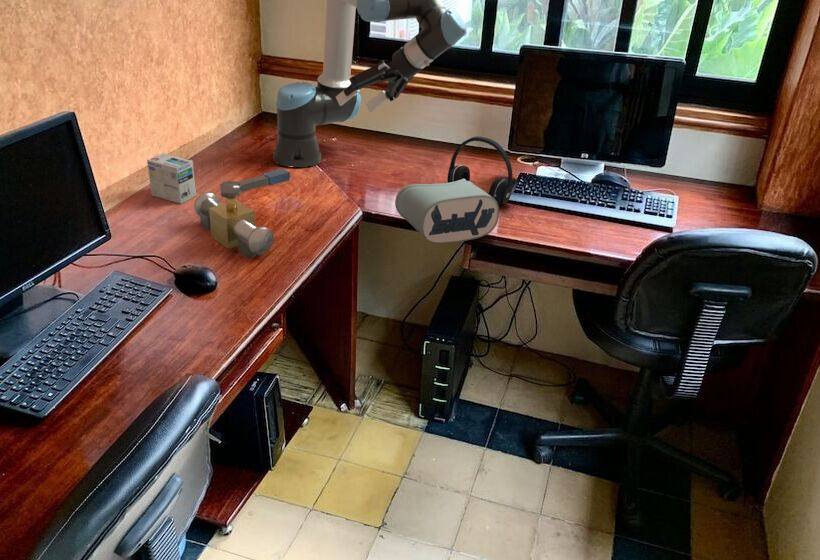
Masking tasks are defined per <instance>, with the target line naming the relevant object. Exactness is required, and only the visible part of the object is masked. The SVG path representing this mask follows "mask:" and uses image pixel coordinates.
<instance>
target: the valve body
mask: <svg viewBox="0 0 820 560" xmlns="http://www.w3.org/2000/svg"><path fill="white" fill-rule="evenodd" d="M196 197H197V198H195V201H194V202H193V203H194V204H193V209H194V212H195V214H196V215H197V216H199V222H200V223H199V224H200V226H201V227H202V228H203V229H205V230H206V231H207V232H210V236H211V238H212V239H214V240H215V241H216V242H218V243H220V244H221V245H222V246H224V247H225V248H226V249H228V250H229V249H232V248H235V247H238V254H240V255H242V256H243V257H245V258H246V259H250V258H253V257H256V256H259V255H264V254H265V253H267V251H268V252H269V250H270V249H271V248H272V246H273V244H274V242H275V241H274V240H275V236H274V233H273V231H272V230H271V229H270V228H268V227H267V226H256V213H255V212H256V211H255V210H254V209H252V208H250V207H249V206H247V205H246V204H244V203H242V202H241V201H239V200H238V199H237V198H238V197H235V198H225V203H221V202H220V199H219V197H218V196H217V195H216V194H214V193H212V192H210V191H207V192H206V191H205V192H203V193H200V194H199V195H198V196H196Z"/></svg>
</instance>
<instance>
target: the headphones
mask: <svg viewBox="0 0 820 560" xmlns="http://www.w3.org/2000/svg"><path fill="white" fill-rule="evenodd" d="M470 142H481V143H485V144H487V145H490V146H492V147H493V148H494V149H495V150H496V151H497V152H498V153H499V154H500V155H501V157H502V159H503V160H504V163H505V166H506V170H507V178H506V177H501V176H499V177H496V178H495V179H494V180H493V181H492V183H491V185H490V188H489V189H488V190H489V191H488V194H489V195H490V196H491V197H493V198H494V199H495V200H496V201H497V203H498V206H499V205H501V204H502V205H505V204H507V203H508V202H509V201H510V199H511V196H512V193H513V187H514V186H513V167H512V163H511V161H510V159H509V156H508V154H507V152H506V151H505V149H504V148H503V147H502V145H500V143H498V142H497V141H495V140H494V139H491V138H488V137H484V136H472V137H470V138H469V139H466V140H464V141H463V142H462V143H461V144H460V145H459V146H458V147H457V148H456V150H455V151H454V152H453V154H452V157H451V160H450V163H449V167H448V172H447V183H450V182H455V181H458V180H461V179H466V180H467V181H470V182H471V171H470V169H469V167H468V166H466V165H462V164H457V165H456V159H457V157H458V155H459V152H460V151H461V149H462V148H464V147H465V146H467V144H468V143H470Z"/></svg>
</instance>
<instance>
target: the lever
mask: <svg viewBox="0 0 820 560" xmlns="http://www.w3.org/2000/svg"><path fill="white" fill-rule="evenodd" d="M290 180H291V175H290V171H288V170H287V169H285V168H280V169H276V170H272V171H268V172H265V173H263V174H262V175H258V176H254V177H250V178H247V179H243V180H239V181H235V180H228V181H227V180H226V181H222V182H221V183H220V184H219V192H220V196H221V197H223V198H225V199H226V198H235V197H236V198H238V197H240V196H241V195H242V193H245V192H247V191H250V190H255V189H258V188H262V187H265V186H274V185H277V184H281V183H285V182H288V181H290Z"/></svg>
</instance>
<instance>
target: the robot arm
mask: <svg viewBox="0 0 820 560" xmlns="http://www.w3.org/2000/svg"><path fill="white" fill-rule="evenodd" d="M325 9H326V10H325V11H326V13H325V27H324V28H325V30H324V45H323V47H324V48H323V62H322V63H323V64H322V65H323V66H322V67H323V68H322V73H321V74H320V75H319V76H318V77H317V82H316V83H317V85H316V86H315V85H314V84H312V83H310V82H304V81H303V82H292V83H289V84H285V85H283V86H281V87H280V88H279V90H278V91H277V94H276V95H277V96H276V114H277V115H276V116H277V139H276V142H275V145H274V149H273V150H272V151H273V153H272V160H273V162H274V161H275V162H277V163H279V164H282V165H285V166H293V167H305V168H308V167H307V166H311V167H314V166H316V165H318V164H319V163H321V162H322V152H321V149H320V146H319V143H318V140H317V137H316V127H317V126H321V125H329V124H333V123H343V122H346V121H349V120H353V119H354V118H355V117H357V115H358V113H359V112H360V108H361V105H362V95H360V94H361V91H360V90H361V89H364V88H367V87H369V86H372V85H375V84H377V83H381V84H383V83H385V82H387V85H386V88H385V90H381V92H379V93H378V94H377V95H375V96H374V97H373V98H371V99H370V100H369V101H368V102H367V103H366V104H365V106H366V107H367V109H368V111H369V113H370V114H371V113H373V112H374V111H376V110H377V109H378V108H379V107H380V106H382V105H383V104H384V103H385V102H386V101H388V100H389V101H390V102H393V101H394V100H395V99H397V98H399V96H400V95H401V93H402V92H403V91H404V89H405V88H406V87H407V85H408V84H409V83H410V81H412V80H413V79H414V77H415V75H417V74H418V73H420V71H421V70H423V69H424V68H426V67H429V66H430V63H432V62H434V60H436V59H437V58H438V57H439V56H441V55H442V54H443V53H445V52H446V51H448V50H449V49H450V48H451V47H453V46H454V45H456V44H457V42H459V41H460V40H461V39H462V38H463V37H464V36H465V35H466V33H467V26H466V23H465V21H464V19H463V18H462V17H461V15H460V14H459V12H458V11H456V10H455V9H453V8H448V9H447V8H446V7H445V5H444V3H443V1H442V0H326V8H325ZM356 10H357V11H356ZM356 12H357V13H358V15H359V16H360V18H361V19H362V20H363V21H365V22H369V23H370V22H374V23H380V22H387V21H398V20H408V19H409V20H410V19H415V20H416V21H417V23H418V26H420V28H421V30H420V31H419V33H417V34H416V35H414V36H413V37H412V38H411V39H410V40H408V41H407V42H406V43H405V44H404V46H401V47H400V48H399V49H398V50H395V52H394V53H393V54H392V56H391V57H392V59H391V60H392V61H390V62H389V63H385V61H384V60H380V61H379V62H377V63H376V64H375V65H373V66H371V67H369V68H367V69H365V70H362V71H361V72H359V73H356V74H355V75H351V74H352V73H351V71H352V61H353V49H354V48H353V47H354V35H355V23H356V22H355V20H356ZM275 162H274V163H275ZM277 163H276V164H277Z"/></svg>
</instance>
